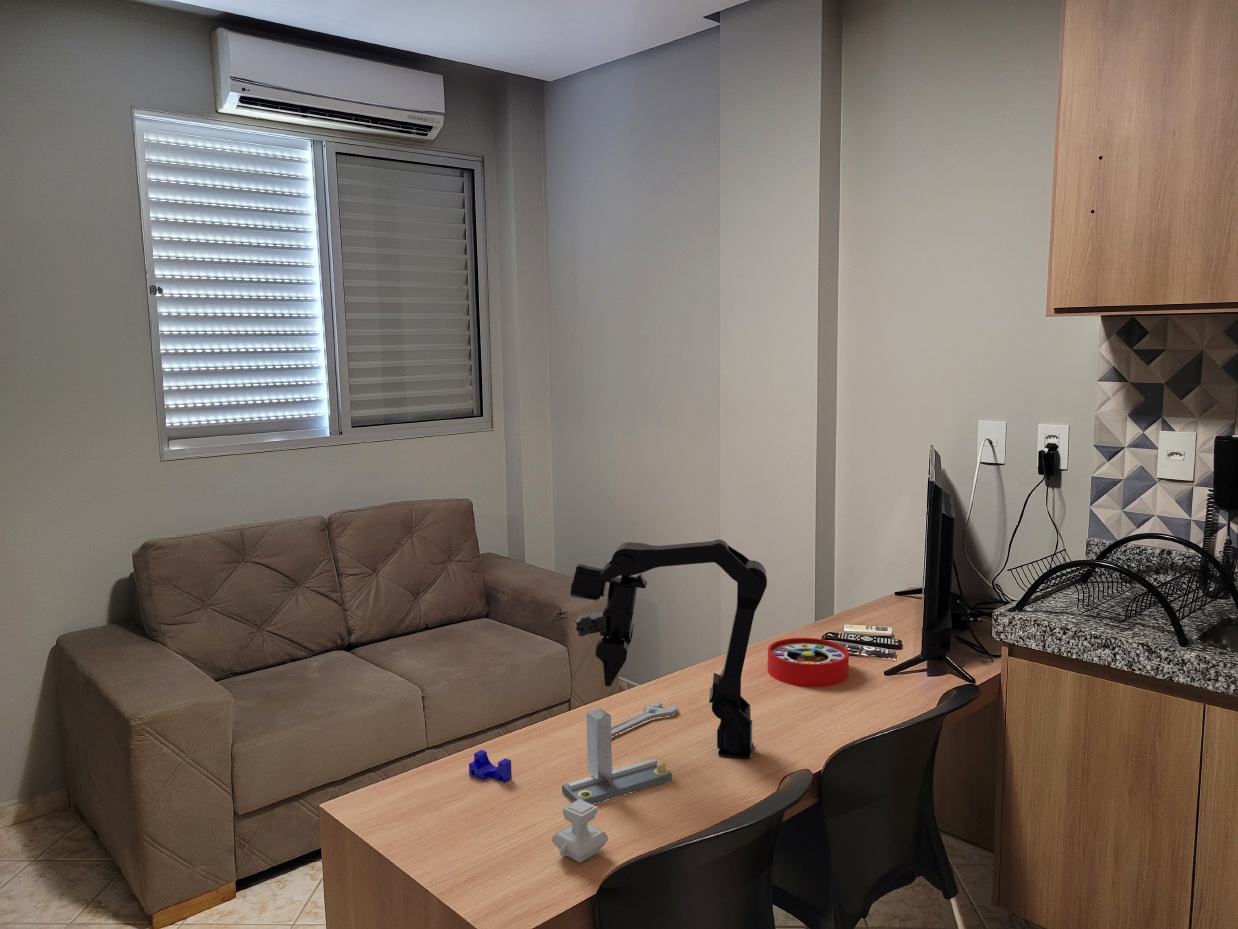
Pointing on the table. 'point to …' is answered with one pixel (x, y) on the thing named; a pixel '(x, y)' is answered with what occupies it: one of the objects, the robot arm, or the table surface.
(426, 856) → the table surface
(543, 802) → the table surface
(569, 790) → the plate
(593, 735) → the sliding jaw
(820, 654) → the toy clock
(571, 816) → the stamp
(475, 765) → the cable holder
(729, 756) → the robot arm
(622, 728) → the adjustable wrench
